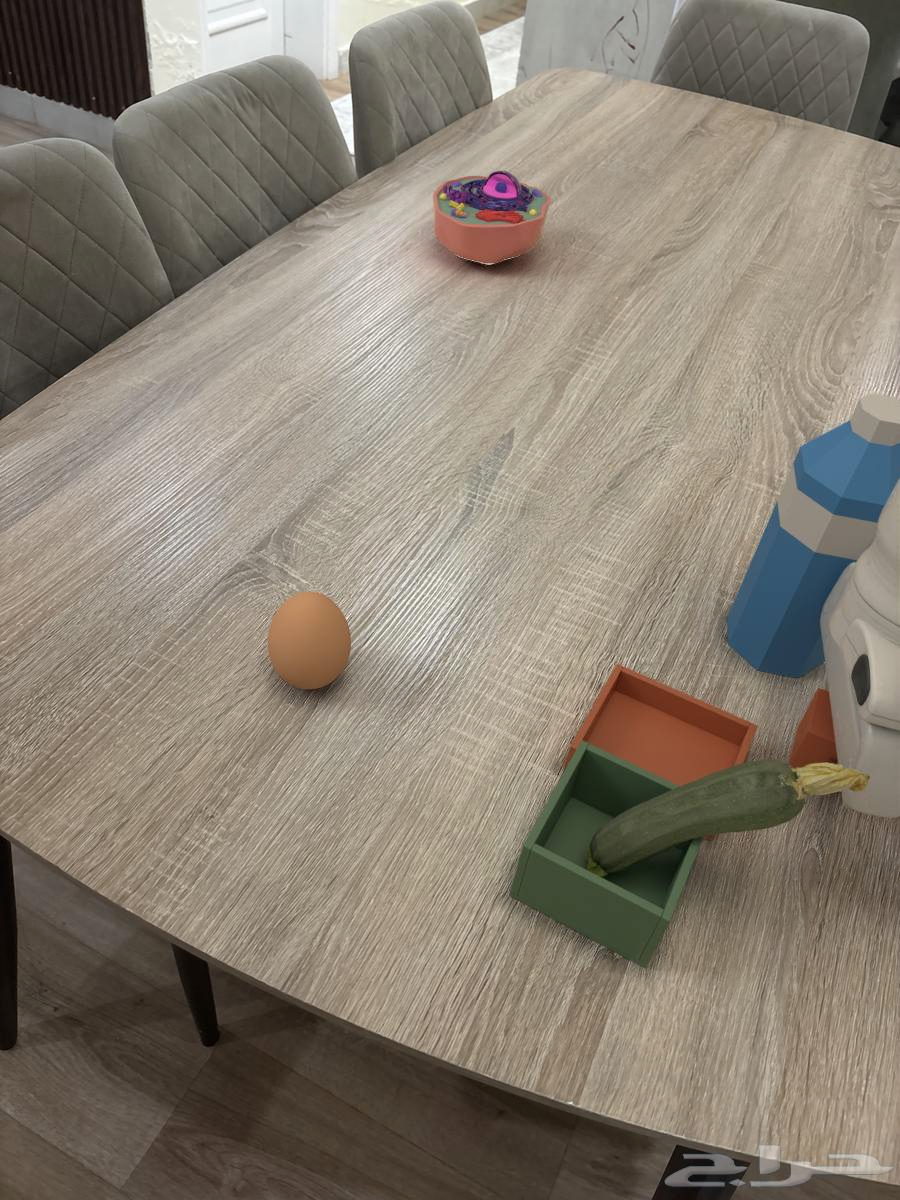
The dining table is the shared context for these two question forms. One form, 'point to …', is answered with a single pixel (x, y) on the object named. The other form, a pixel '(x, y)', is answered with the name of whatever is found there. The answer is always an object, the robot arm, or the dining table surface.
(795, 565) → the water bottle
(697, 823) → the vegetable
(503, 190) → the cell model
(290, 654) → the egg
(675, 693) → the terracotta tray
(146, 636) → the dining table surface
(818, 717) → the terracotta block
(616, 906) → the produce bin
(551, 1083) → the dining table surface
